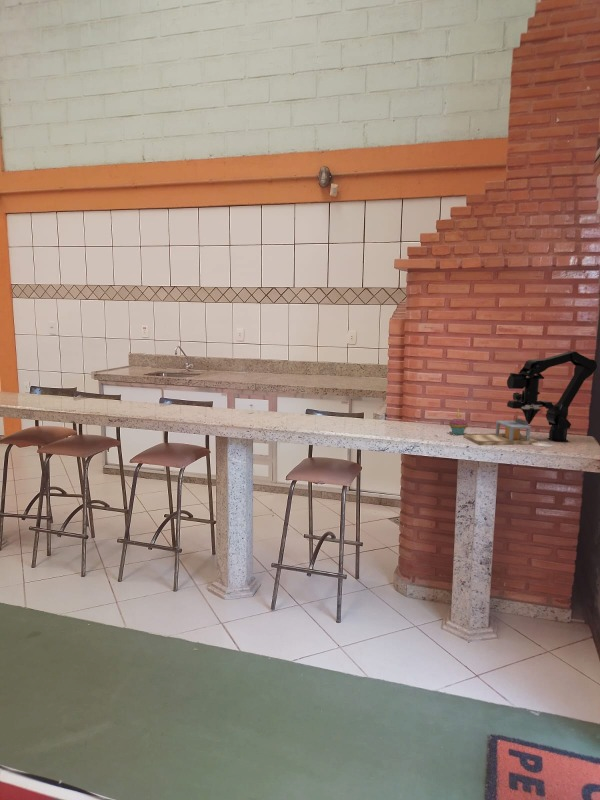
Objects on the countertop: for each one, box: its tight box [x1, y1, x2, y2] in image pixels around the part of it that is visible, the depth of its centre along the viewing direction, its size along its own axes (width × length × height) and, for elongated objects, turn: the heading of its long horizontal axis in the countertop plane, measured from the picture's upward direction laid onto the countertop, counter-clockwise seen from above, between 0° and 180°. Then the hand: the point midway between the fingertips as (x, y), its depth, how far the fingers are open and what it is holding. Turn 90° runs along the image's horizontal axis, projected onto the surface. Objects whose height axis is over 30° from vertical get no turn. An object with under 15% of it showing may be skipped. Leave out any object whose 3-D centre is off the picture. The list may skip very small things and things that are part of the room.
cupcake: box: [448, 408, 469, 436], centre depth 265 cm, size 9×8×12 cm
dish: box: [530, 440, 555, 448], centre depth 245 cm, size 9×9×1 cm
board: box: [462, 432, 539, 446], centre depth 252 cm, size 27×16×2 cm, turn 98°
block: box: [504, 426, 521, 439], centre depth 252 cm, size 4×4×6 cm
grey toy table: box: [495, 417, 532, 440], centre depth 252 cm, size 9×14×8 cm, turn 8°
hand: (528, 424), depth 253 cm, fingers closed
